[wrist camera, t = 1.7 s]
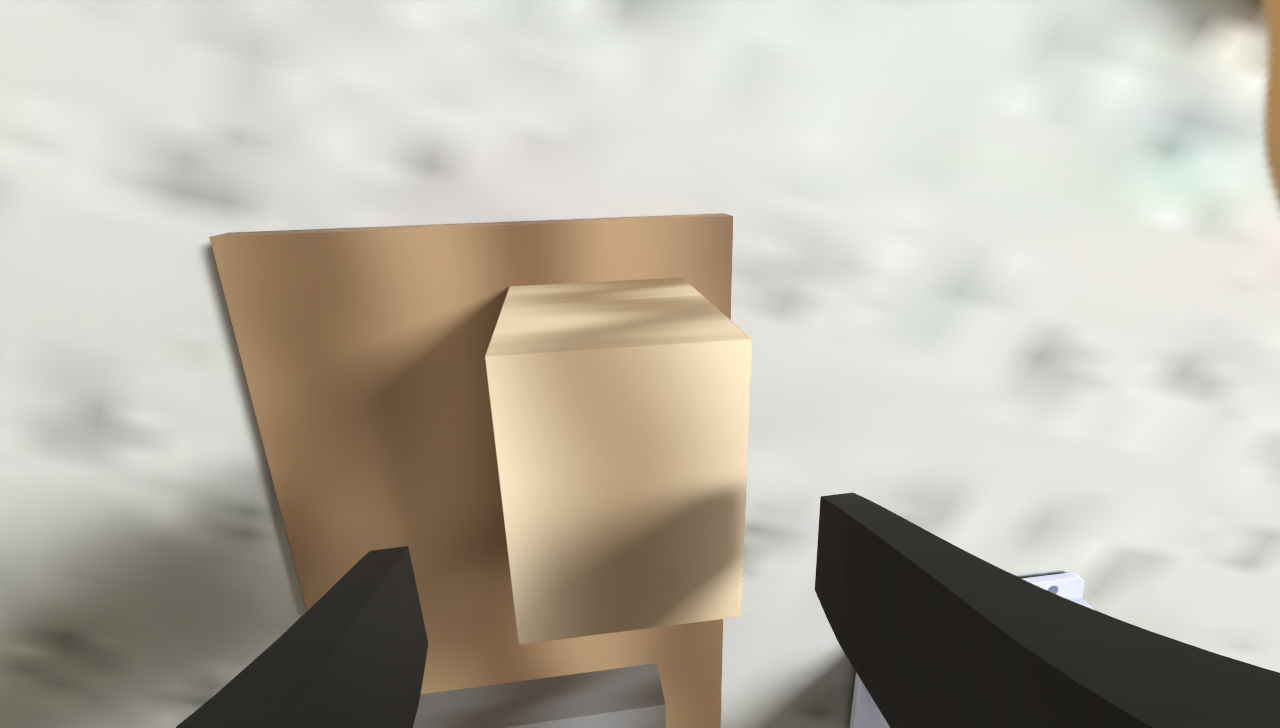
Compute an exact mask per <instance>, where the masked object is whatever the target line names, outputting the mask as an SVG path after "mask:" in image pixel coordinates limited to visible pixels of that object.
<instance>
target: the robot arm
mask: <svg viewBox="0 0 1280 728" xmlns="http://www.w3.org/2000/svg"><path fill="white" fill-rule="evenodd" d="M1084 583H1085V582H1084V580H1083V579H1082V578H1081V577H1079V576H1078V575H1077V574H1075V573H1062V574H1054V575H1046V576H1038V577H1030V578H1022V579H1021V578H1019V577H1017V576H1015V575H1013V574H1011V573H1008V572H1006V571H1004V570H1002V569H1000V568H998V567H996V566H994V565H992V564H990V563H988V562H986V561H984V560H982V559H980V558H978V557H976V556H974V555H972V554H970V553H968V552H966V551H964V550H962V549H960V548H958V547H956V546H954V545H952V544H951V543H949V542H947V541H945V540H943V539H941V538H939V537H937V536H935V535H934V534H932V533H930V532H928V531H926V530H924V529H922V528H921V527H919V526H917V525H915V524H913V523H911V522H909V521H908V520H906V519H904V518H902V517H900V516H898V515H896V514H895V513H893V512H891V511H889V510H887V509H885V508H883V507H881V506H880V505H878V504H876V503H874V502H872V501H870V500H868V499H866V498H864V497H861V496H859V495H857V494H855V493H846V494H838V495H829V496H821V501H820V517H819V533H818V548H817V564H816V580H815V591H816V593H817V596H818V598H819V600H820V603H821V605H822V607H823V610H824V612H825V614H826V617H827V619H828V621H829V623H830V625H831V627H832V630H833V632H834V634H835V636H836V638H837V640H838V642H839V644H840V646H841V647H842V649H843V651H844V653H845V654H846V656H847V658H848V659H849V661H850V663H851V664H852V666H853V668H854V669H855V671H856V678H855V686H854V695H853V703H852V711H851V720H850V728H1280V673H1278V672H1275V671H1271V670H1268V669H1264V668H1261V667H1258V666H1254V665H1251V664H1248V663H1245V662H1241V661H1238V660H1235V659H1232V658H1228V657H1225V656H1222V655H1219V654H1215V653H1212V652H1209V651H1206V650H1203V649H1200V648H1197V647H1195V646H1192V645H1189V644H1186V643H1183V642H1180V641H1177V640H1174V639H1171V638H1168V637H1165V636H1162V635H1159V634H1156V633H1153V632H1150V631H1148V630H1145V629H1142V628H1140V627H1137V626H1134V625H1131V624H1129V623H1126V622H1123V621H1121V620H1118V619H1115V618H1113V617H1110V616H1108V615H1105V614H1103V613H1100V612H1098V611H1096V610H1095V609H1094V608H1092V607H1091V606H1090V605H1089V604H1088V603H1086V602H1085V601H1084V600H1083V599H1081V597H1082V594H1083V590H1084ZM427 650H428V639H427V634H426V629H425V625H424V620H423V615H422V610H421V605H420V601H419V596H418V591H417V586H416V581H415V576H414V572H413V567H412V562H411V557H410V552H409V547H408V546H404V547H396V548H388V549H379V550H371V551H369V552H368V553H367V554H366V555H365V556H364V557H363V558H361V559H360V560H359V561H358V562H357V563H356V564H355V565H354V566H353V567H352V568H351V569H350V570H349V571H348V572H347V573H346V574H345V575H344V576H343V577H342V578H341V579H340V580H339V581H338V582H337V583H336V584H335V585H334V586H333V587H332V588H331V589H330V590H329V591H328V592H326V593H325V594H324V595H323V596H322V597H321V598H320V599H319V600H318V601H317V602H316V603H315V604H314V605H313V606H312V607H311V608H310V609H309V610H308V611H307V612H306V613H305V614H304V615H303V616H302V617H301V618H300V619H298V620H297V621H296V622H295V623H294V624H293V625H292V626H291V627H290V628H289V629H288V630H287V631H286V632H285V633H284V634H283V635H282V636H281V637H280V638H279V639H278V640H276V641H275V642H274V643H273V644H272V645H271V646H270V647H269V648H268V649H266V650H265V651H264V652H263V653H262V654H261V655H260V656H259V657H257V658H256V659H255V660H254V661H253V662H252V663H251V664H249V665H248V666H247V667H246V668H245V669H244V670H243V671H242V672H240V673H239V674H238V675H237V676H236V677H235V678H234V679H233V680H231V681H230V682H229V683H228V684H227V685H226V686H225V687H224V688H222V689H221V690H220V691H219V692H218V693H217V694H216V695H214V696H213V697H212V698H211V699H210V700H209V701H207V702H206V703H205V704H204V705H203V706H201V707H200V708H199V709H198V710H197V711H195V712H194V713H193V714H192V715H190V716H189V717H188V718H187V719H185V720H184V721H183V722H182V723H181V724H179V725H178V726H177V727H176V728H413V725H414V721H415V717H416V713H417V710H418V706H419V701H420V695H421V689H422V683H423V677H424V670H425V663H426V656H427Z"/></svg>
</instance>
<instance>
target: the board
mask: <svg viewBox="0 0 1280 728" xmlns="http://www.w3.org/2000/svg"><path fill="white" fill-rule="evenodd" d="M732 238H733V216H730V215H727V214H699V215H673V216H648V217H622V218H596V219H571V220H545V221H519V222H494V223H468V224H442V225H416V226H391V227H365V228H339V229H314V230H288V231H262V232H237V233H226V234H221V235H217V236H212V237H210V241H211V245H212V249H213V253H214V257H215V260H216V264H217V268H218V272H219V276H220V280H221V284H222V287H223V291H224V295H225V299H226V303H227V307H228V311H229V314H230V318H231V322H232V326H233V330H234V334H235V338H236V341H237V345H238V349H239V353H240V357H241V361H242V365H243V368H244V372H245V376H246V380H247V384H248V388H249V392H250V395H251V399H252V403H253V407H254V411H255V415H256V419H257V423H258V426H259V430H260V434H261V438H262V442H263V446H264V450H265V453H266V457H267V461H268V465H269V469H270V473H271V477H272V480H273V484H274V488H275V492H276V496H277V500H278V504H279V507H280V511H281V515H282V519H283V523H284V527H285V531H286V534H287V538H288V542H289V546H290V550H291V554H292V558H293V561H294V565H295V569H296V573H297V577H298V581H299V585H300V588H301V592H302V596H303V600H304V604H305V608H306V612H307V611H308V610H309V609H310V608H311V607H312V606H313V605H314V604H315V603H316V602H317V601H318V600H319V599H320V598H321V597H322V596H323V595H324V594H325V593H326V592H328V591H329V590H330V589H331V588H332V587H333V586H334V585H335V584H336V583H337V582H338V581H339V580H340V579H341V578H342V577H343V576H344V575H345V574H346V573H347V572H348V571H349V570H350V569H351V568H352V567H353V566H354V565H355V564H356V563H357V562H358V561H359V560H360V559H361V558H363V557H364V556H365V555H366V554H367V553H368V552H369V551H371V550H379V549H388V548H396V547H404V546H408V547H409V552H410V557H411V562H412V567H413V572H414V576H415V581H416V586H417V591H418V596H419V601H420V605H421V610H422V615H423V620H424V625H425V629H426V634H427V639H428V650H427V656H426V663H425V670H424V677H423V683H422V689H421V695H420V701H419V706H418V710H417V713H416V717H415V721H414V725H413V728H720V720H721V680H722V640H723V619H719V620H711V621H703V622H695V623H687V624H679V625H671V626H663V627H655V628H647V629H639V630H631V631H623V632H615V633H607V634H599V635H591V636H583V637H575V638H567V639H559V640H551V641H543V642H535V643H527V644H519V642H518V634H517V625H516V616H515V608H514V599H513V591H512V582H511V574H510V565H509V557H508V548H507V540H506V531H505V522H504V514H503V505H502V497H501V488H500V480H499V471H498V463H497V454H496V446H495V437H494V428H493V420H492V411H491V403H490V394H489V386H488V377H487V369H486V360H485V355H486V353H487V350H488V347H489V344H490V341H491V338H492V336H493V333H494V330H495V327H496V324H497V321H498V318H499V316H500V313H501V310H502V307H503V304H504V301H505V299H506V296H507V293H508V290H509V287H510V286H528V285H547V284H566V283H585V282H605V281H624V280H643V279H662V278H681V277H682V278H683V279H685V280H686V281H687V282H688V283H689V284H690V285H691V286H692V287H694V288H695V289H696V290H697V291H698V292H699V293H700V294H702V295H703V296H704V297H705V298H706V299H707V300H708V301H709V302H711V303H712V304H713V305H714V306H715V307H716V308H717V309H718V310H720V311H721V312H722V313H723V314H724V315H725V316H726V317H728V318H729V319H731V279H732Z"/></svg>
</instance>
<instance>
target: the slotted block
mask: <svg viewBox="0 0 1280 728" xmlns="http://www.w3.org/2000/svg"><path fill="white" fill-rule="evenodd" d="M751 349H752V339H751V338H750V337H749V336H748V335H747V334H746V333H745V332H743V331H742V330H741V329H740V328H739V327H738V326H737V325H735V324H734V323H733V322H732V321H731V320H730V319H729V318H728V317H726V316H725V315H724V314H723V313H722V312H721V311H720V310H718V309H717V308H716V307H715V306H714V305H713V304H712V303H711V302H709V301H708V300H707V299H706V298H705V297H704V296H703V295H702V294H700V293H699V292H698V291H697V290H696V289H695V288H694V287H692V286H691V285H690V284H689V283H688V282H687V281H686V280H685V279H683V278H682V277H681V278H662V279H643V280H624V281H605V282H585V283H566V284H547V285H528V286H510V287H509V290H508V293H507V296H506V299H505V301H504V304H503V307H502V310H501V313H500V316H499V318H498V321H497V324H496V327H495V330H494V333H493V336H492V338H491V341H490V344H489V347H488V350H487V353H486V355H485V360H486V369H487V377H488V386H489V394H490V403H491V411H492V420H493V428H494V437H495V446H496V454H497V463H498V471H499V480H500V488H501V497H502V505H503V514H504V522H505V531H506V540H507V548H508V557H509V565H510V574H511V582H512V591H513V599H514V608H515V616H516V625H517V634H518V642H519V644H527V643H535V642H543V641H551V640H559V639H567V638H575V637H583V636H591V635H599V634H607V633H615V632H623V631H631V630H639V629H647V628H655V627H663V626H671V625H679V624H687V623H695V622H703V621H711V620H719V619H727V618H735V617H741V616H742V589H743V562H744V536H745V509H746V482H747V456H748V429H749V402H750V375H751Z"/></svg>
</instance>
